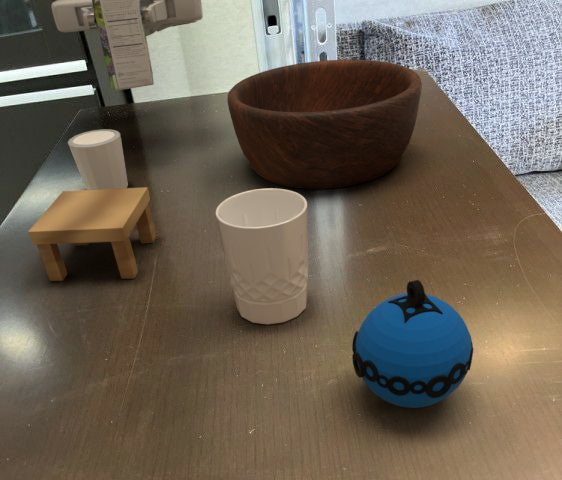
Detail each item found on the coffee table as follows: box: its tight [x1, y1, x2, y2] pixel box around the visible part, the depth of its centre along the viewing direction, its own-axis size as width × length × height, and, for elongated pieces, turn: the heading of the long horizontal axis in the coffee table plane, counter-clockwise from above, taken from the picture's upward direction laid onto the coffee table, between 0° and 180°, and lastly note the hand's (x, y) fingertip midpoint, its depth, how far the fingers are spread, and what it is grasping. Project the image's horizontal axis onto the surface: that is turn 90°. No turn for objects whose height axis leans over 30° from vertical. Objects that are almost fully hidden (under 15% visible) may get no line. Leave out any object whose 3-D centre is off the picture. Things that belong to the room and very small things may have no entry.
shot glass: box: [67, 128, 129, 190], centre depth 84 cm, size 7×7×7 cm
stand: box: [27, 186, 157, 282], centre depth 68 cm, size 10×10×6 cm
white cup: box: [215, 187, 309, 325], centre depth 56 cm, size 8×8×10 cm
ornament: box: [351, 279, 474, 409], centre depth 45 cm, size 9×9×10 cm
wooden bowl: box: [226, 59, 423, 190], centre depth 83 cm, size 25×25×10 cm
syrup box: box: [92, 0, 155, 92], centre depth 81 cm, size 6×6×14 cm
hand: (118, 18), depth 80 cm, fingers closed on syrup box, 6 cm apart
